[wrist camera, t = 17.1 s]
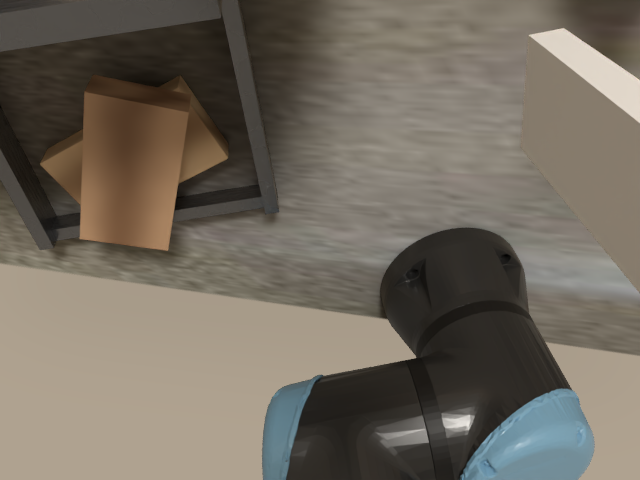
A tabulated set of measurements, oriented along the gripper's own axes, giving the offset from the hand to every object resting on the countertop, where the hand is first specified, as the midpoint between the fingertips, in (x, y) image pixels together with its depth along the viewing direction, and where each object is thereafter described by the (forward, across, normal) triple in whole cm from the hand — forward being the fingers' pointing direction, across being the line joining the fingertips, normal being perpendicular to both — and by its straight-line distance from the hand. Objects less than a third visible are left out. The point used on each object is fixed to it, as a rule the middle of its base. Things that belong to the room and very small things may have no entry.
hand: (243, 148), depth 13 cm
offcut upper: (+30, +12, +15) cm, 35 cm away
